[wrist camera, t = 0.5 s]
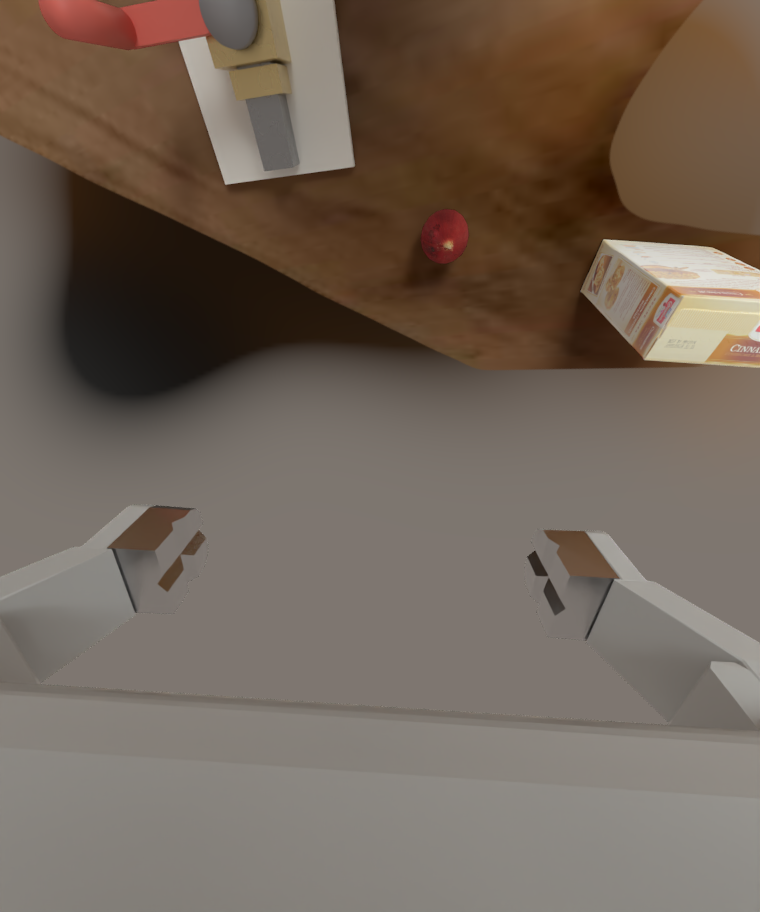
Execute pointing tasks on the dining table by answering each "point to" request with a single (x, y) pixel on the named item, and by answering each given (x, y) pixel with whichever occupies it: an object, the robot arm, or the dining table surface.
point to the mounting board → (310, 105)
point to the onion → (444, 236)
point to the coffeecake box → (678, 302)
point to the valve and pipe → (263, 85)
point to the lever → (153, 22)
